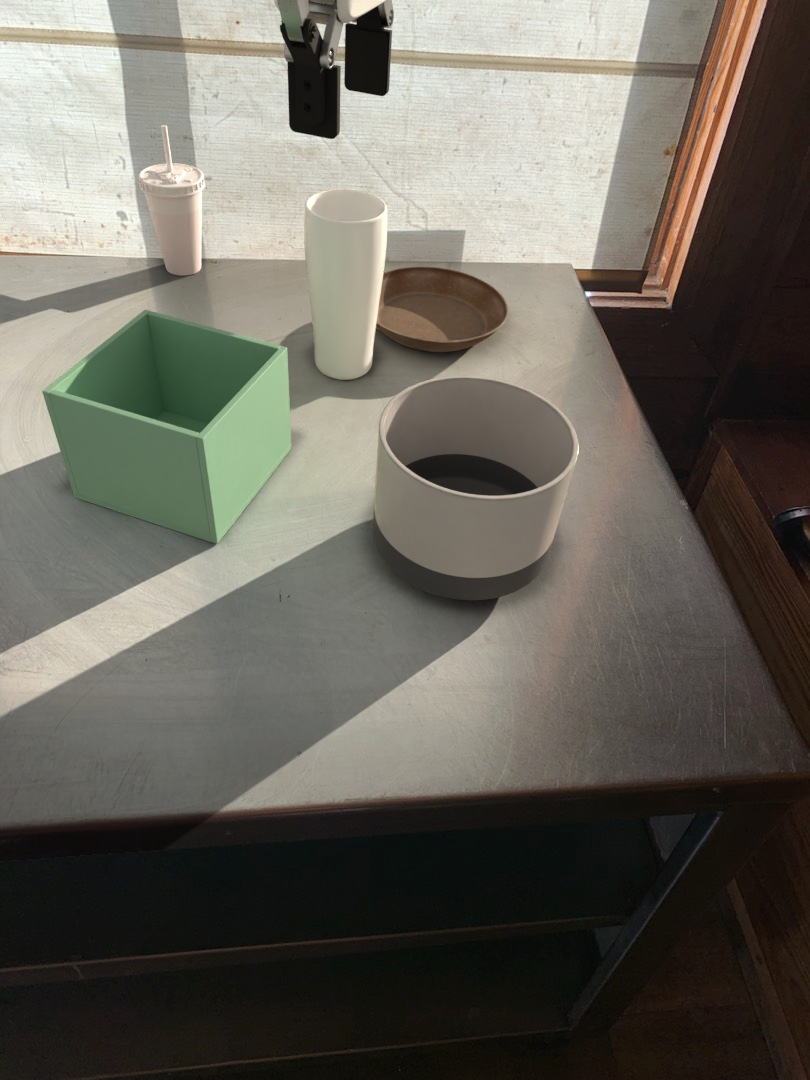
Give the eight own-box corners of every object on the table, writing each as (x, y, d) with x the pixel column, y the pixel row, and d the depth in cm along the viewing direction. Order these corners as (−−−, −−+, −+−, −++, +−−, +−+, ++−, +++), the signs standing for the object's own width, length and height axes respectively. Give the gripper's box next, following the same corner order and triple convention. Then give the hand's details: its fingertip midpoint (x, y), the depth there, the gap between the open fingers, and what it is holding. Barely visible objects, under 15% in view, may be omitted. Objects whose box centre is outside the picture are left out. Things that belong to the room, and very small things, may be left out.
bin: (74, 497, 59) (41, 390, 52) (163, 411, 67) (145, 309, 60) (217, 544, 56) (202, 439, 50) (291, 448, 64) (287, 347, 58)
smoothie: (209, 251, 88) (194, 115, 78) (218, 278, 84) (203, 138, 74) (149, 256, 86) (126, 117, 76) (156, 284, 82) (132, 141, 72)
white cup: (388, 383, 72) (398, 220, 61) (315, 391, 70) (313, 225, 60) (369, 343, 77) (376, 186, 66) (300, 350, 75) (296, 190, 64)
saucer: (530, 322, 82) (535, 298, 80) (453, 383, 73) (456, 358, 71) (414, 275, 87) (416, 252, 85) (329, 327, 78) (329, 302, 76)
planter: (341, 572, 55) (343, 456, 48) (414, 468, 64) (426, 356, 56) (514, 639, 52) (545, 526, 45) (566, 521, 61) (600, 409, 53)
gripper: (339, -249, 48) (336, 70, 60) (202, -259, 36) (233, 142, 48) (459, -236, 46) (431, 87, 58) (358, -243, 34) (349, 165, 47)
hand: (342, 111), depth 53 cm, fingers open, 9 cm apart
